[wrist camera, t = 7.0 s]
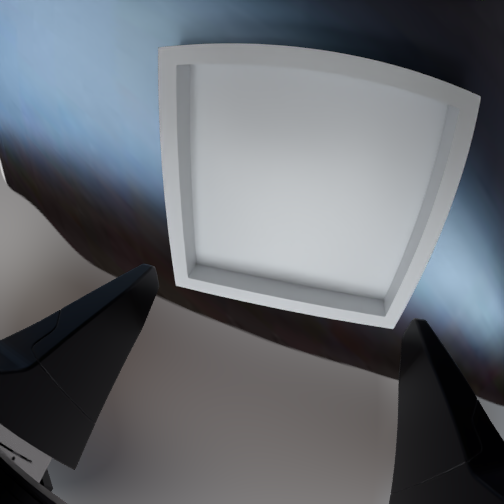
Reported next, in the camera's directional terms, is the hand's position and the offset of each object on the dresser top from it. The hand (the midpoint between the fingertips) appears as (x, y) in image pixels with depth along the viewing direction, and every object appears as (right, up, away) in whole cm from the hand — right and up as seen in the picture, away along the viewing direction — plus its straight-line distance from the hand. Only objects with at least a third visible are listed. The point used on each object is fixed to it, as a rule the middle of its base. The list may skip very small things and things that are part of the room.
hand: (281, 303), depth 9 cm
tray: (+2, +5, +7) cm, 9 cm away
